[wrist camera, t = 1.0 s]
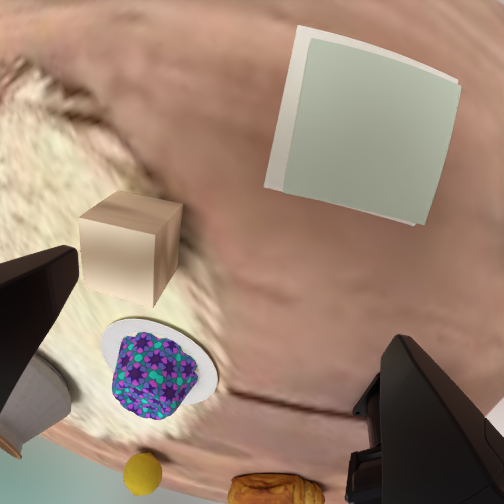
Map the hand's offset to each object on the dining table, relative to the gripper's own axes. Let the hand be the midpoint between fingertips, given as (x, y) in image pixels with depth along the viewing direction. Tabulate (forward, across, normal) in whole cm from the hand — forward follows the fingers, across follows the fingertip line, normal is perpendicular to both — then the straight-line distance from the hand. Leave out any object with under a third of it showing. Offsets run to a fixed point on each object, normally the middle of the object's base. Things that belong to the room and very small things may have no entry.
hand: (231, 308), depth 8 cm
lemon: (+13, +7, +43) cm, 45 cm away
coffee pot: (+13, +27, +31) cm, 43 cm away
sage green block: (+10, -4, -5) cm, 12 cm away
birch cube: (+13, +7, +6) cm, 16 cm away
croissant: (+13, -13, +45) cm, 49 cm away
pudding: (+13, +6, +20) cm, 25 cm away
